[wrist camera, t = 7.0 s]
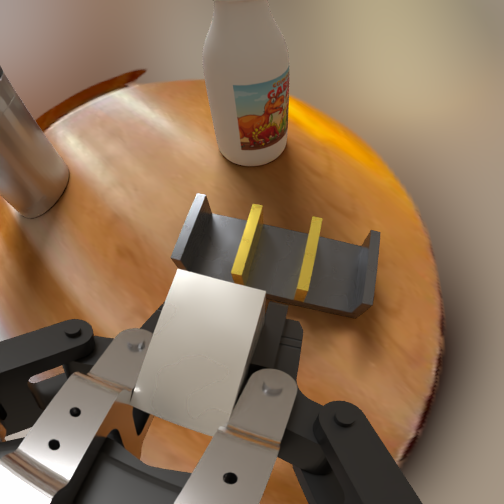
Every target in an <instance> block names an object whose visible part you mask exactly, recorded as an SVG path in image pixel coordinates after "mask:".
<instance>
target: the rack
mask: <svg viewBox="0 0 504 504" xmlns="http://www.w3.org/2000/svg"><path fill="white" fill-rule="evenodd" d="M322 219H323V218H318V217H314V216H312V221H311V225H310V229H309V233H308V234H306V233H301V232H297V231H292V230H288V229H283V228H279V227H274V226H269V225H265V224H263V206H262V205H257V204H253V205H252V208H251V211H250V214H249V217H248V220H247V221H246V220H241V219H236V218H231V217H226V216H221V215H216V214H212V212H211V209H210V206H209V203H208V200H207V196H206V195H204V194H199V193H197V195H196V197H195V199H194V202H193V204H192V206H191V209H190V211H189V213H188V216H187V218H186V221H185V223H184V226H183V228H182V230H181V233H180V235H179V238H178V240H177V243H176V245H175V248H174V250H173V253H172V256H171V259H172V260H173V262H174V263H175V264H176V266H177V267H178V268H179V269H181V270H185V271H189V272H193V273H196V274H200V275H204V276H208V277H212V278H215V279H219V280H223V281H227V282H231V283H235V284H239V285H243V286H247V287H251V288H255V289H259V290H263V291H266V298H267V299H271V300H275V301H279V302H283V303H288V304H292V305H296V306H301V307H305V308H310V309H314V310H319V311H323V312H328V313H332V314H337V315H341V316H346V317H351V318H357V317H358V316H360V315H361V314H362V313H363V312H365V311H366V310H367V309H368V308H370V307H371V306H372V305H373V298H374V290H375V283H376V274H377V265H378V255H379V244H380V232H377V231H373V230H371V231H370V233H369V234H368V236H367V238H366V239H365V241H364V243H363V244H362V246H358V245H354V244H350V243H345V242H341V241H337V240H332V239H328V238H324V237H319V235H320V230H321V224H322Z"/></svg>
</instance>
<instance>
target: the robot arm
mask: <svg viewBox="0 0 504 504" xmlns="http://www.w3.org/2000/svg"><path fill="white" fill-rule="evenodd" d="M68 178H69V169H68V166H67V165H66V163H65V162H64V161H63V159H62V158H61V157H60V155H59V154H58V153H57V151H56V150H55V148H54V147H53V146H52V144H51V143H50V141H49V140H48V139H47V137H46V136H45V134H44V133H43V132H42V130H41V129H40V127H39V126H38V124H37V123H36V121H35V120H34V119H33V117H32V116H31V114H30V113H29V111H28V110H27V108H26V107H25V105H24V103H23V102H22V100H21V99H20V97H19V96H18V94H17V93H16V91H15V90H14V88H13V87H12V85H11V83H10V82H9V80H8V78H7V77H6V75H5V73H4V72H3V70H2V68H1V67H0V195H1V196H2V197H3V198H4V199H5V200H6V201H7V202H8V203H9V204H10V205H12V206H13V207H14V208H15V209H16V210H17V211H18V212H19V213H20V214H21V215H23V216H24V217H26V218H34V217H37V216H39V215H42V214H43V213H45V212H46V211H47V210H49V209H50V208H51V207H52V206H53V205H54V204H55V202H56V201H57V200H58V199H59V197H60V196H61V195H62V193H63V191H64V189H65V187H66V185H67V182H68ZM164 303H165V302H164ZM163 306H164V304H162V305H161V306H160V307H159V308H158V310H156V311H155V313H154V314H153V315H152V316H151V317H150V318H149V319H148V320H147V321H146V322H145V323H144V324H143V326H142V327H141V328H140V329H138V328H133V329H127V330H124V331H122V332H121V333H119V334H118V335H117V336H116V337H115V339H113V338H105V337H99V336H94V334H93V329H92V327H91V325H90V324H89V323H87V322H85V321H83V320H79V319H72V320H67V321H64V322H60V323H57V324H54V325H51V326H48V327H45V328H42V329H39V330H36V331H33V332H29V333H26V334H23V335H20V336H17V337H14V338H11V339H8V340H4V341H1V342H0V504H259V502H260V500H261V497H262V495H263V492H264V490H265V487H266V485H267V482H268V480H269V477H270V474H271V472H272V469H273V466H274V464H275V461H276V458H277V457H279V458H281V459H283V460H285V461H287V462H289V463H291V464H292V465H293V469H294V472H295V474H296V476H297V479H298V481H299V483H300V485H301V488H302V490H303V492H304V494H305V497H306V499H307V501H308V503H309V504H422V503H421V501H420V499H419V498H418V496H417V495H416V493H415V492H414V490H413V488H412V487H411V485H410V484H409V482H408V481H407V479H406V478H405V476H404V475H403V473H402V472H401V470H400V468H399V467H398V465H397V464H396V462H395V461H394V459H393V458H392V456H391V455H390V453H389V452H388V450H387V448H386V447H385V445H384V444H383V442H382V441H381V439H380V438H379V436H378V435H377V433H376V432H375V430H374V429H373V427H372V426H371V424H370V422H369V421H368V419H367V418H366V416H365V415H364V413H363V412H362V411H361V410H360V409H359V408H358V407H357V406H355V405H353V404H351V403H349V402H345V401H333V402H329V403H327V404H326V405H324V406H322V405H320V404H318V403H316V402H314V401H312V400H310V399H308V398H307V397H306V396H305V395H303V394H302V392H301V391H300V390H299V388H298V386H297V381H296V379H297V372H298V366H299V359H300V352H301V345H302V338H303V329H302V327H301V325H300V322H299V321H294V320H290V319H286V314H287V310H288V305H284V304H280V303H276V302H272V301H270V302H269V305H268V307H267V310H266V313H265V322H264V325H263V328H262V331H261V334H260V336H259V339H258V342H257V345H256V348H255V351H254V354H253V357H252V359H251V362H250V366H249V371H248V375H247V380H246V384H245V388H244V390H243V392H242V394H241V396H240V398H239V400H238V402H237V404H236V405H235V407H234V409H233V411H232V413H231V416H230V419H229V421H228V422H226V424H225V425H224V426H220V427H219V429H218V430H217V432H216V433H215V435H214V437H213V438H212V440H211V442H210V444H209V445H208V447H207V449H206V451H205V452H204V454H203V456H202V457H201V459H200V461H199V463H198V464H197V466H196V468H195V469H194V471H193V473H188V472H180V471H174V470H167V469H162V468H156V467H151V466H148V465H146V464H144V463H143V462H142V461H140V457H141V448H142V443H143V440H144V438H145V436H146V433H147V431H148V429H149V427H150V425H151V422H152V420H153V418H154V415H152V414H149V413H147V412H145V411H142V410H140V409H138V408H136V407H133V406H131V405H130V401H131V398H132V395H133V392H134V389H135V386H136V383H137V380H138V377H139V374H140V371H141V368H142V365H143V362H144V359H145V356H146V353H147V350H148V347H149V344H150V342H151V339H152V336H153V333H154V330H155V328H156V325H157V322H158V320H159V317H160V314H161V311H162V309H163ZM61 365H63V369H64V372H65V373H63V374H60V375H57V376H55V377H52V378H49V379H47V380H44V381H41V382H38V383H30V382H29V381H28V380H29V379H30V378H31V377H32V376H34V375H36V374H39V373H42V372H45V371H47V370H50V369H53V368H56V367H58V366H61ZM30 427H32V428H31V430H30V431H29V433H28V434H27V435H26V437H24V438H19V439H14V440H10V441H6V440H5V439H4V438H5V436H8V435H11V434H14V433H17V432H20V431H22V430H25V429H27V428H30Z"/></svg>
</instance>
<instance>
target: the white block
mask: <svg viewBox="0 0 504 504" xmlns="http://www.w3.org/2000/svg"><path fill="white" fill-rule="evenodd" d="M265 303H266V291H263V290H259V289H255V288H251V287H247V286H243V285H239V284H235V283H231V282H227V281H223V280H219V279H215V278H212V277H208V276H204V275H200V274H196V273H193V272H189V271H185V270H181V269H178V270H177V273H176V275H175V278H174V280H173V283H172V285H171V288H170V290H169V293H168V296H167V298H166V301H165V303H164V306H163V309H162V311H161V314H160V317H159V320H158V322H157V325H156V328H155V330H154V333H153V336H152V339H151V342H150V344H149V347H148V350H147V353H146V356H145V359H144V362H143V365H142V368H141V371H140V374H139V377H138V380H137V383H136V386H135V389H134V392H133V395H132V398H131V401H130V405H131V406H133V407H136V408H138V409H140V410H142V411H145V412H147V413H149V414H152V415H154V416H157V417H159V418H162V419H164V420H167V421H169V422H172V423H175V424H177V425H180V426H183V427H186V428H189V429H191V430H194V431H197V432H200V433H203V434H206V435H210V436H213V437H214V435H215V433H216V432H217V430H218V429H219V427H220V426H224V425H225V424H226V422H228V421H229V419H230V416H231V413H232V411H233V409H234V407H235V405H236V404H237V402H238V400H239V398H240V396H241V394H242V392H243V390H244V388H245V384H246V380H247V375H248V371H249V366H250V362H251V359H252V357H253V354H254V351H255V348H256V345H257V342H258V339H259V336H260V334H261V331H262V328H263V325H264V322H265Z"/></svg>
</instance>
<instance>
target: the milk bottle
mask: <svg viewBox="0 0 504 504" xmlns="http://www.w3.org/2000/svg"><path fill="white" fill-rule="evenodd" d="M213 1H214V13H213V18H212V22H211V25H210V29H209V31H208V34H207V36H206V40H205V43H204V48H203V69H204V76H205V83H206V88H207V94H208V99H209V104H210V109H211V114H212V119H213V125H214V129H215V134H216V139H217V143H218V147H219V150H220V152H221V153H222V154H223V155H224V156H225V157H226V158H227V159H228V160H229V161H231V162H233V163H236V164H238V165H243V166H259V165H263V164H267V163H269V162H271V161H273V160H274V159H276V158H277V157H278V156H279V155H280V154H281V153H282V152H283V150H284V149H285V146H286V142H287V128H288V105H289V56H288V49H287V45H286V42H285V39H284V36H283V35H282V33H281V31H280V29H279V27H278V26H277V24H276V22H275V20H274V18H273V16H272V14H271V11H270V8H269V5H268V0H213Z"/></svg>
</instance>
